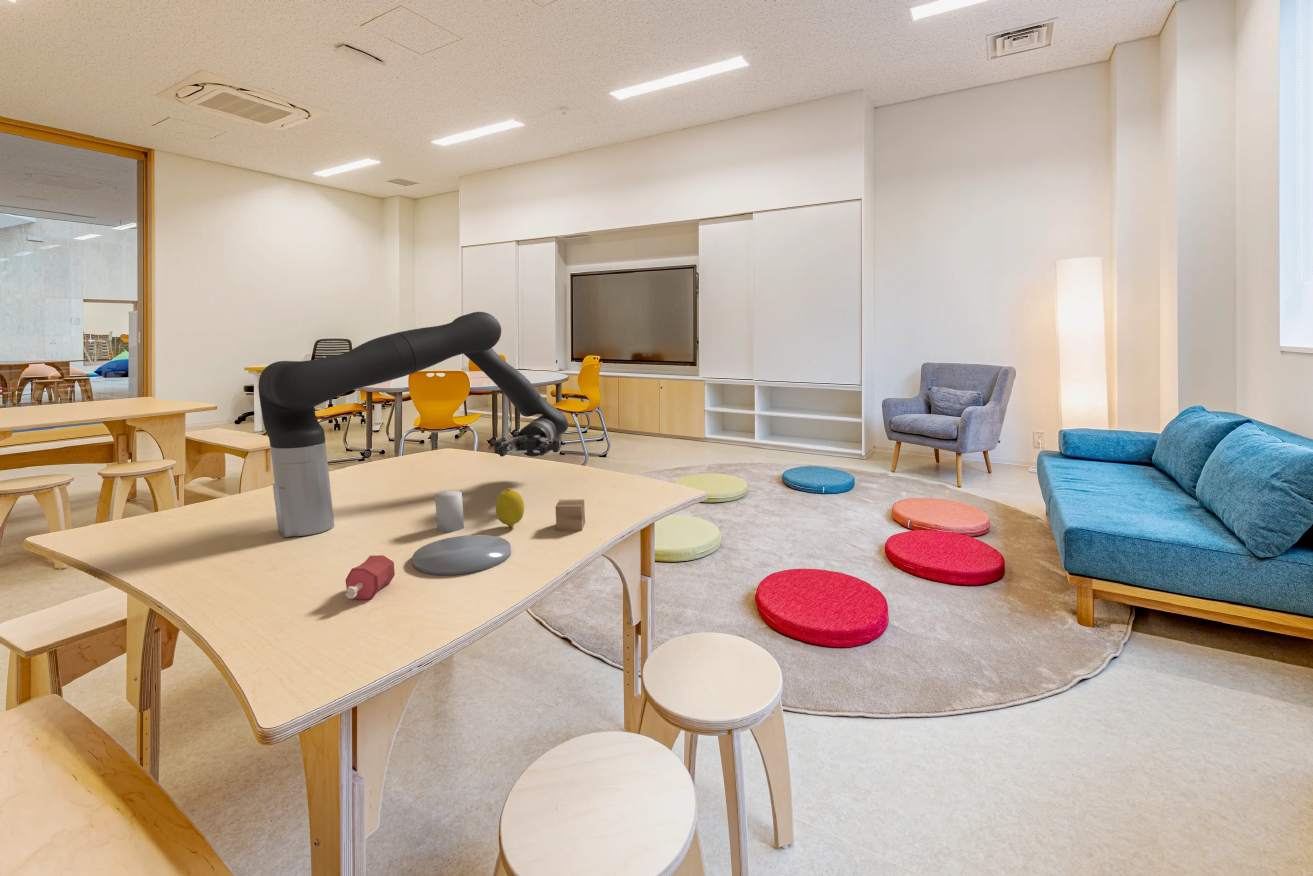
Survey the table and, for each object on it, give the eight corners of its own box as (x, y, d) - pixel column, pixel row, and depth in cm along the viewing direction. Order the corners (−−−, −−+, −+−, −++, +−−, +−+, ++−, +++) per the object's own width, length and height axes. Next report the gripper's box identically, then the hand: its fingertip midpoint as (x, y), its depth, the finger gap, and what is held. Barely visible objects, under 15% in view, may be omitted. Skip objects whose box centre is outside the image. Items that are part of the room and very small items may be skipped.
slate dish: (435, 583, 90) (435, 576, 90) (399, 556, 102) (398, 549, 102) (528, 557, 101) (527, 550, 101) (485, 535, 113) (484, 529, 113)
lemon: (528, 523, 120) (526, 485, 119) (519, 532, 114) (517, 492, 113) (502, 522, 120) (500, 484, 119) (492, 531, 115) (490, 491, 114)
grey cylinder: (443, 533, 114) (441, 498, 113) (433, 528, 118) (430, 493, 116) (468, 528, 117) (466, 494, 116) (457, 522, 121) (455, 489, 120)
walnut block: (560, 523, 120) (559, 499, 119) (585, 523, 120) (584, 499, 119) (556, 531, 115) (555, 506, 114) (582, 531, 115) (581, 506, 114)
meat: (372, 571, 94) (378, 543, 93) (401, 580, 94) (408, 551, 93) (328, 605, 82) (335, 573, 81) (362, 614, 82) (369, 582, 81)
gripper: (505, 423, 142) (486, 435, 126) (564, 421, 142) (553, 433, 126) (507, 453, 143) (489, 469, 127) (566, 452, 143) (555, 467, 127)
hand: (521, 451), depth 126 cm, fingers open, 8 cm apart
